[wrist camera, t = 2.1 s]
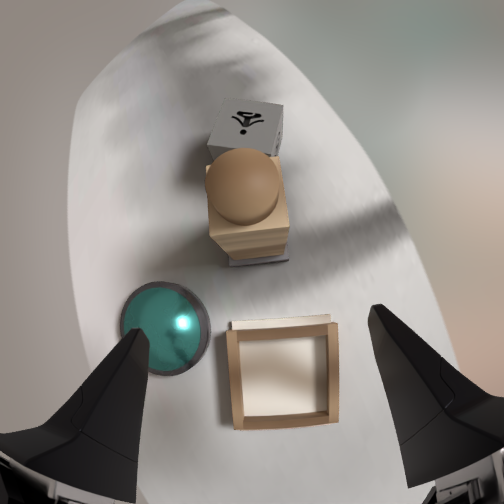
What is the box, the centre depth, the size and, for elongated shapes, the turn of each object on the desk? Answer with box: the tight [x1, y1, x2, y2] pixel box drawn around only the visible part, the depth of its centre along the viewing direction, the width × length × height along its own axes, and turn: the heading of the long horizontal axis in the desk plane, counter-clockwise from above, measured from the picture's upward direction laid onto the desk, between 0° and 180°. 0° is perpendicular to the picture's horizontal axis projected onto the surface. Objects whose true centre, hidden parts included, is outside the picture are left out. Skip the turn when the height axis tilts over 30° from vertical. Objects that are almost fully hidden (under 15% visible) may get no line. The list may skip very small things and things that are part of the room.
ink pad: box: [120, 282, 211, 376], centre depth 22 cm, size 8×8×2 cm
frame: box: [226, 314, 339, 431], centre depth 20 cm, size 10×9×2 cm
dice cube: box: [207, 98, 283, 160], centre depth 22 cm, size 5×5×5 cm
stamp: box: [205, 148, 290, 267], centre depth 18 cm, size 5×5×11 cm
